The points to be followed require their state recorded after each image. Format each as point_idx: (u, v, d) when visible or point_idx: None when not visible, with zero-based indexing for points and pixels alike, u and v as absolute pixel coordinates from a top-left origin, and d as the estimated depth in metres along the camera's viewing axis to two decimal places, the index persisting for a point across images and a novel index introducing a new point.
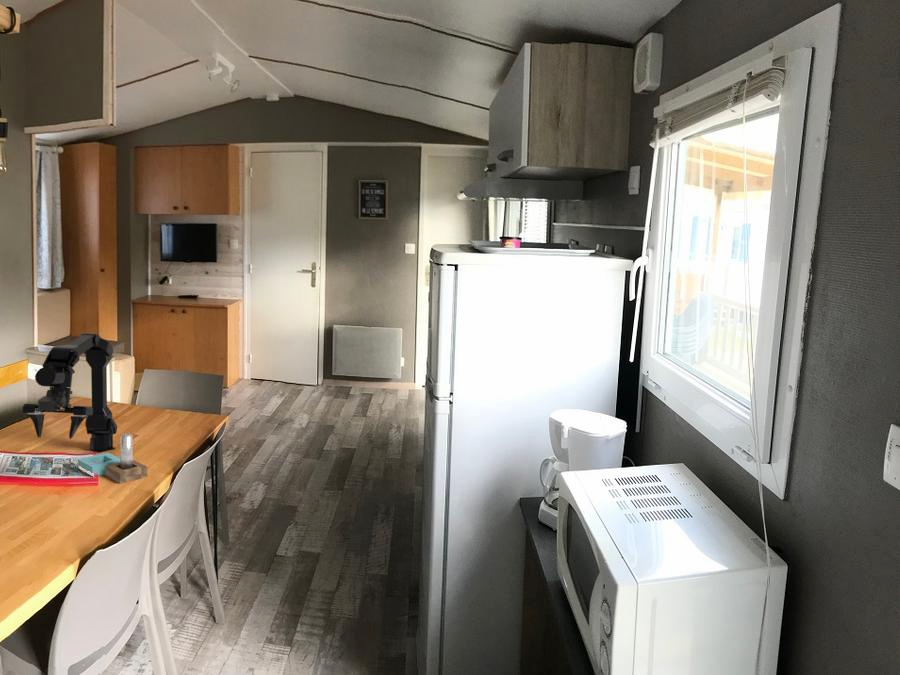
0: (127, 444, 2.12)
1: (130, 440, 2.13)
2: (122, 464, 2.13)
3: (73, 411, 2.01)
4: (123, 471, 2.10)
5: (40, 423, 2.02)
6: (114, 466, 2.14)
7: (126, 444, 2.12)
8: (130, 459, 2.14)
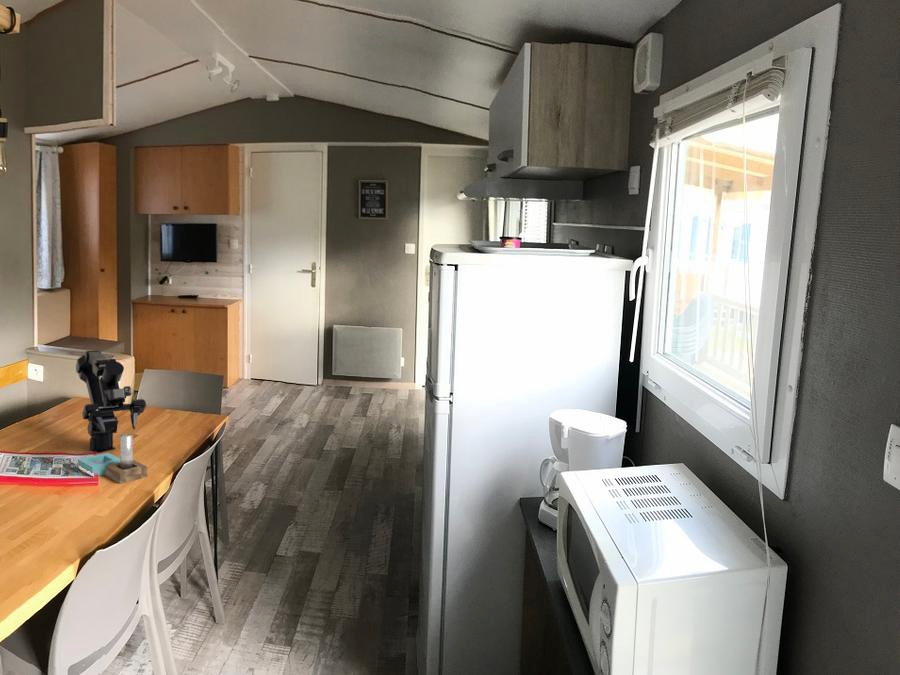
0: (127, 444, 2.12)
1: (130, 440, 2.13)
2: (122, 464, 2.13)
3: (135, 402, 2.24)
4: (123, 471, 2.10)
5: None
6: (114, 466, 2.14)
7: (126, 444, 2.12)
8: (130, 459, 2.14)
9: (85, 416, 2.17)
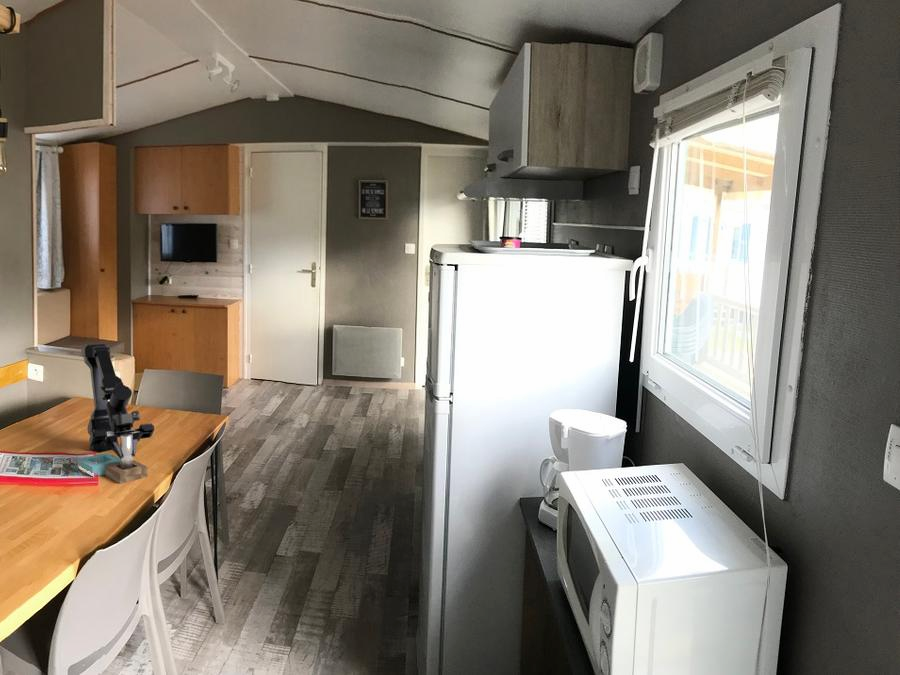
0: (127, 444, 2.12)
1: (130, 440, 2.13)
2: (122, 464, 2.13)
3: (143, 427, 2.19)
4: (123, 471, 2.10)
5: None
6: (114, 466, 2.14)
7: (126, 444, 2.12)
8: (130, 459, 2.14)
9: (92, 442, 2.11)
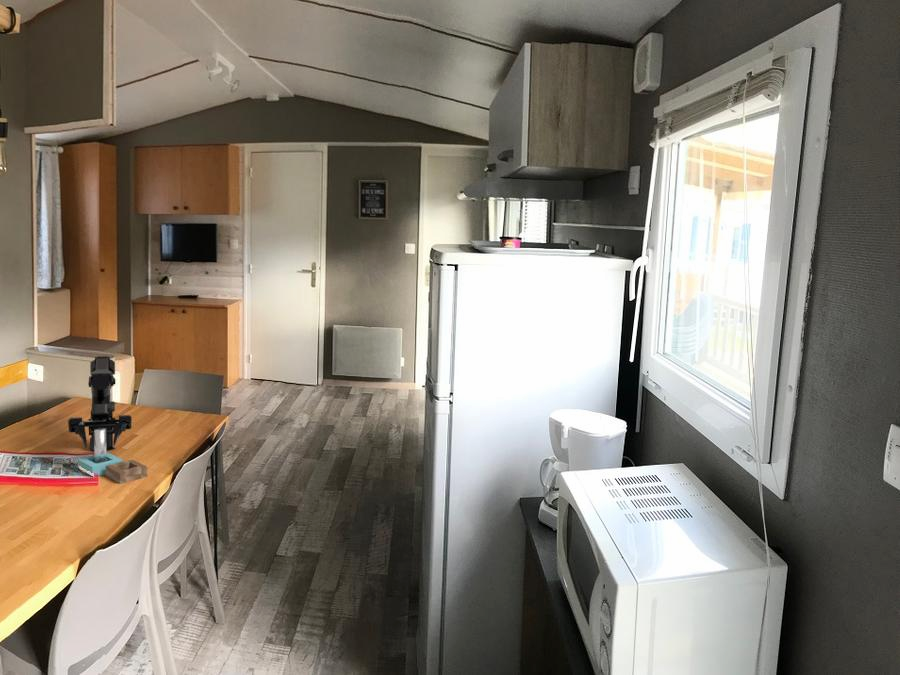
0: (98, 438, 2.16)
1: (102, 434, 2.16)
2: (95, 457, 2.17)
3: (120, 418, 2.21)
4: (123, 471, 2.10)
5: (85, 436, 2.17)
6: (114, 466, 2.14)
7: (97, 438, 2.16)
8: (102, 453, 2.17)
9: (70, 429, 2.17)
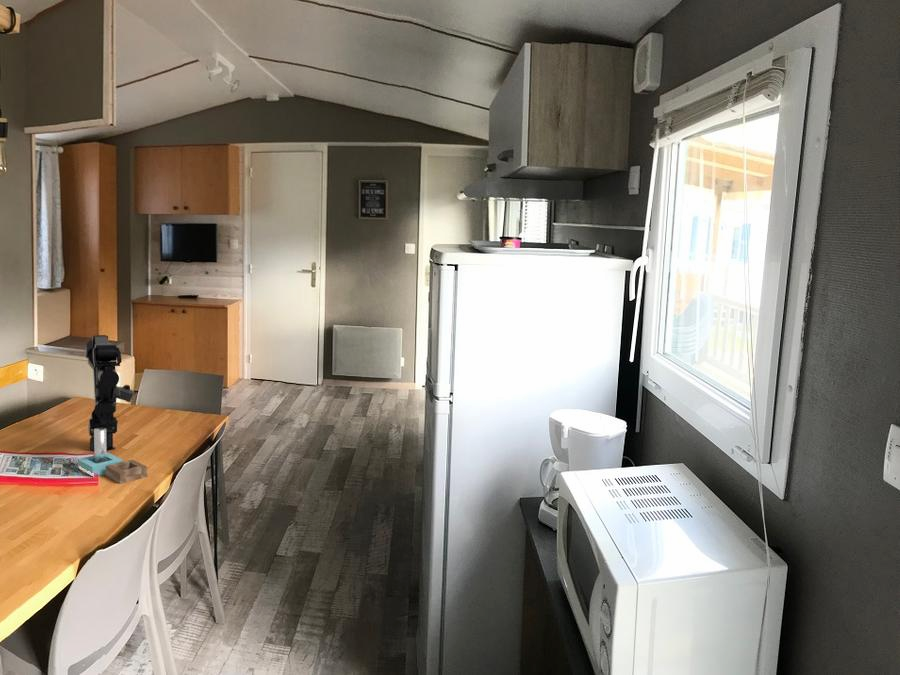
0: (99, 438, 2.16)
1: (102, 434, 2.16)
2: (95, 457, 2.17)
3: None
4: (123, 471, 2.10)
5: None
6: (114, 466, 2.14)
7: (98, 438, 2.16)
8: (102, 453, 2.17)
9: (102, 411, 2.15)
